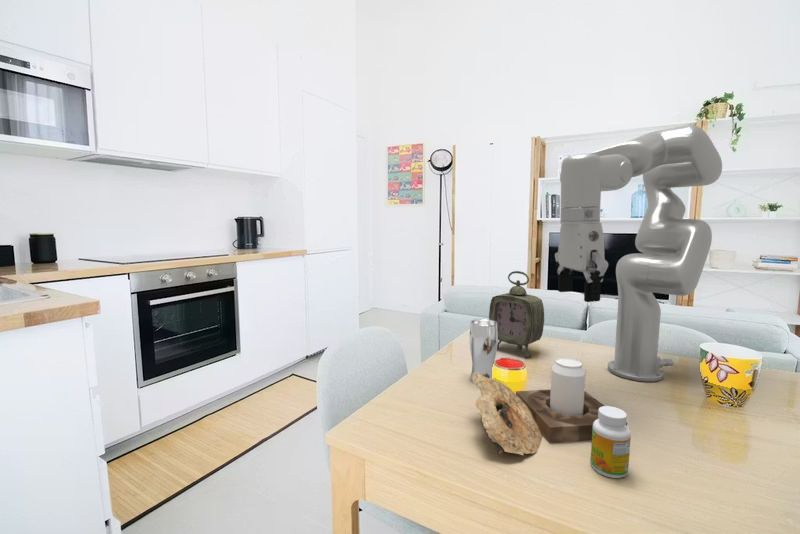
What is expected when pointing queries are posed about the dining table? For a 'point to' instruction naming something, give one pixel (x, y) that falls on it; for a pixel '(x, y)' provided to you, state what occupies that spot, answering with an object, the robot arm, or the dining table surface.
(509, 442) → the holed granite stone
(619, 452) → the supplement bottle
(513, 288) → the tabletop clock
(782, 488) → the dining table surface
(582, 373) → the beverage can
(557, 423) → the can holder
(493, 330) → the beer glass
